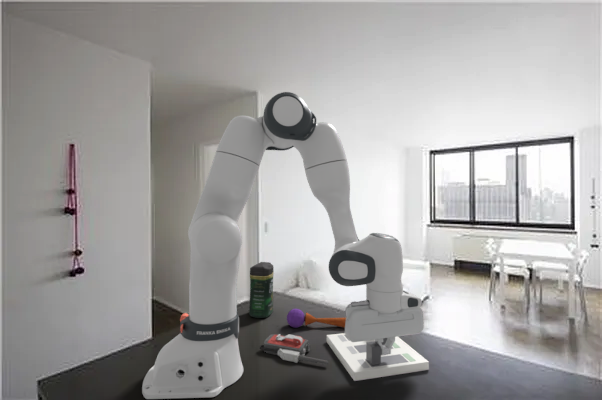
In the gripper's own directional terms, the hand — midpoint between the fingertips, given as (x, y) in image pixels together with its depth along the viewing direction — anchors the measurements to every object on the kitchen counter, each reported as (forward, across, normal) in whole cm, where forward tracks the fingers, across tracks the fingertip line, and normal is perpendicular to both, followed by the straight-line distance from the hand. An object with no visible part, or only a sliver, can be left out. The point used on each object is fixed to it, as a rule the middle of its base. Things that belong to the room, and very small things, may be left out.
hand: (384, 353), depth 78 cm
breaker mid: (+2, +4, +7) cm, 8 cm away
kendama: (+4, -9, +28) cm, 30 cm away
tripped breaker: (+2, -3, 0) cm, 3 cm away
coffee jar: (+4, -25, +43) cm, 50 cm away
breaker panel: (+4, +1, +7) cm, 8 cm away
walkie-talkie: (+4, -20, +12) cm, 24 cm away
